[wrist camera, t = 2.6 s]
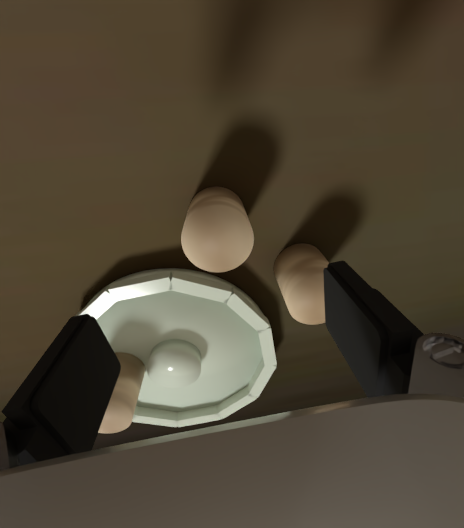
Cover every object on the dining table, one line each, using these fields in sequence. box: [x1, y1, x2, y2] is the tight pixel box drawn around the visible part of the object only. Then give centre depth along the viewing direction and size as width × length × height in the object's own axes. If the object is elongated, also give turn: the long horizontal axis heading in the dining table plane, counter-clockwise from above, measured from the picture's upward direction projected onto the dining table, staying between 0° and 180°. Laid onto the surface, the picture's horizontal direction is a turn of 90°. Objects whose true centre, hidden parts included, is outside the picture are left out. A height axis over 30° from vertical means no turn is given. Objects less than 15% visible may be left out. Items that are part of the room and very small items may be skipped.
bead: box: [98, 352, 145, 433], centre depth 24 cm, size 4×4×5 cm
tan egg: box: [181, 186, 254, 272], centre depth 18 cm, size 4×4×5 cm
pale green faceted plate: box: [75, 268, 277, 427], centre depth 26 cm, size 19×19×2 cm
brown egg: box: [274, 243, 329, 325], centre depth 21 cm, size 4×4×5 cm
